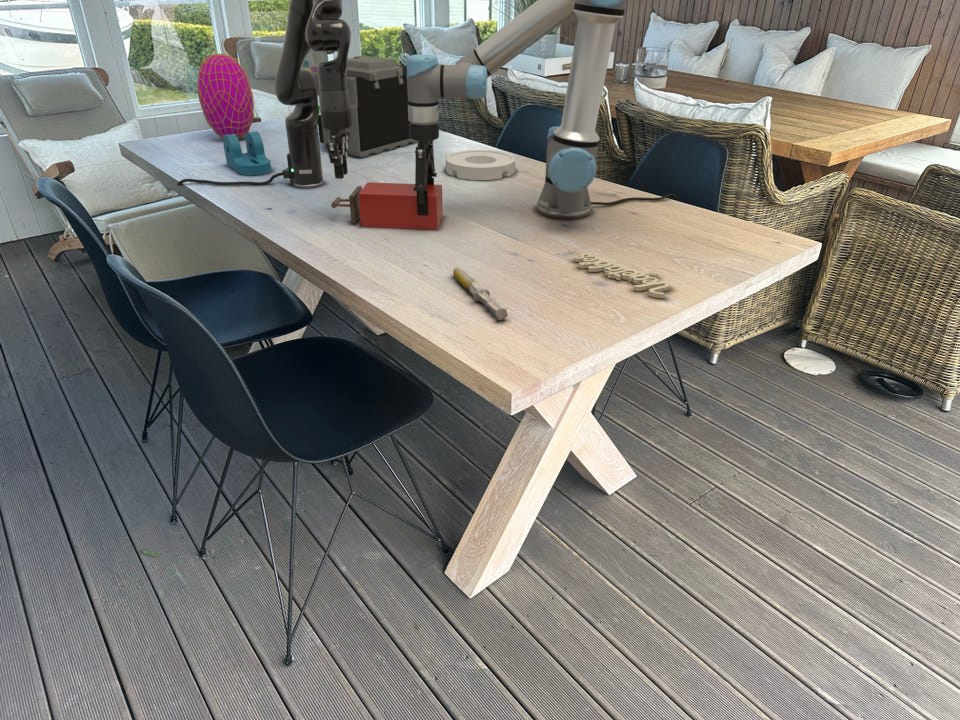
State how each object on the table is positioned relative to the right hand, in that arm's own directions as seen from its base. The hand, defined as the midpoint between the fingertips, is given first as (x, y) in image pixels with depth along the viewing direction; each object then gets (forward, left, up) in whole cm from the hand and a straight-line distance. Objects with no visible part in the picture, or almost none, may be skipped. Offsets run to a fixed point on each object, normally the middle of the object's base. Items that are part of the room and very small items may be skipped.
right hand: (426, 208), depth 183 cm
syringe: (-3, +49, -4) cm, 49 cm away
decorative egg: (+57, -110, -4) cm, 124 cm away
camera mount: (+48, -65, -4) cm, 81 cm away
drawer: (+12, -4, -3) cm, 13 cm away
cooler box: (+6, -89, -4) cm, 89 cm away
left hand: (+21, -7, +8) cm, 24 cm away
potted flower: (+26, -135, -4) cm, 137 cm away
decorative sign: (-38, +45, -4) cm, 58 cm away
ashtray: (-26, -47, -4) cm, 54 cm away
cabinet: (+6, -2, -4) cm, 8 cm away
